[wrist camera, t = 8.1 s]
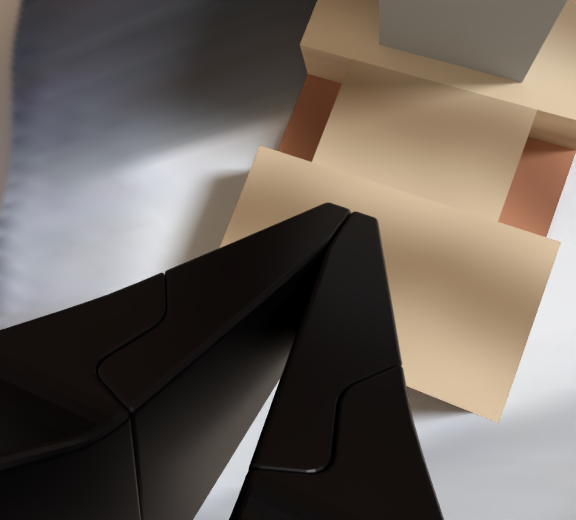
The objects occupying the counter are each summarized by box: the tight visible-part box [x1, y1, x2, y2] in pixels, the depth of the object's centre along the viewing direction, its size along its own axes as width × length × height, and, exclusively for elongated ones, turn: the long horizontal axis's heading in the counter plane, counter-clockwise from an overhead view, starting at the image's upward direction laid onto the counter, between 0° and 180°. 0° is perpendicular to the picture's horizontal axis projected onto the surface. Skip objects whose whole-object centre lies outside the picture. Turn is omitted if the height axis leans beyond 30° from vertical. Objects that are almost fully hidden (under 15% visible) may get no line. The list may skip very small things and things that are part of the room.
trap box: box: [220, 0, 576, 423], centre depth 17 cm, size 17×10×8 cm, turn 159°
